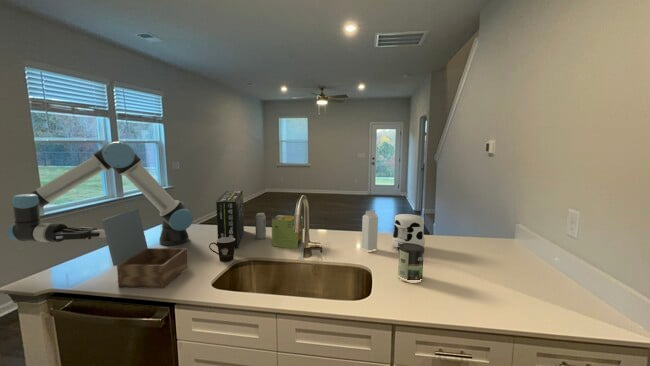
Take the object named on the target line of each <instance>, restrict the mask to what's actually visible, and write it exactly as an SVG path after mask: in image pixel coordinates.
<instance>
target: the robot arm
mask: <svg viewBox="0 0 650 366" xmlns="http://www.w3.org/2000/svg"><path fill="white" fill-rule="evenodd" d="M110 169H113V170H114V171H115V172H116V173H117V174H118V175H120V176H125V177H126V179H128V180H129V182H130V183H132V185H133V186H134V187H136V188H137V190H139V192H141V193H142V194H143V195H144V196H145V198H146V199H147V200H148V201H150V203H152V204H153V206H154V207H156V209H157V210H158V211H159V216H160V218H161V228H162V229H161V232H160V236H159V244H160V245H162V246H176V245H181V244H184V243H186V242H188V241H189V240H190V238H189V237H190V235H189V233H188V231H187V229H189V228H190V226H191V225H192V224H193V221H194V215H193V213H192V212H191V211H190V210H189V209H187V207H185V203H184V201H181V200H177V199H176V200H175V199H174V198H173V197H172V196H171V195H170V194H169V193H168V192H167V191H166V189H164V187H163V186H162V185H160V183H159V182H158V181H157V180H156V179H155V178H154V177H153V176H152V174H150V172H149V171H148V170H147V169H146V168H145V167H144V166H143V165H142V159H141V158H140V156H138V154H136V152H134V150H133V147H132V146H130V144H128V143H126V142H124V141H123V142H122V141H118V140H117V141H111V142H107V143H106V144H105V145H103V147H101V148H100V149H99V150H98V151H96V152H94V153H92V155H91V158H89V159H86V160H85V161H83V162H82V163H80V164H78V165H76V166H74V167H73V168H71V169H69V170H68V171H66V172H64V173H63V174H62V173H61V174H60V175H59V176H57V177H56V178H54V179H52V180H50V181H49V182H47V183H46V184H44V185H42V186H40V187H38V188H36V189H35V190H33V191H32V192H30V193H24V194H23V193H22V194H15V195H13V197H12V208H13V216H14V223H12V224H10V226H9V227H8V230H7V236H8V238H9V239H10V240H12V241H14V242H15V241H16V242H24V243H25V242H44V243H45V244H46V243H50V242H51V243H60V242H63V241H65V240H86V239H88V240H92V238H106V235H105V231H104V229H98V228H96V227H87V226H81V225H80V226H79V227H73V226H70V227H68V226H67V225H66V224H64V223H54V222H53V223H51V222H50V223H48V222H47V223H46V222H45V223H43V222H41V217H40V216H41V215H40V209H42V208H44V207H45V206H47V205H48V204H49V203H51V202H53V201H55V200H56V199H58V198H59V197H61V196H63V195H65V194H67V193H68V192H69V191H71V190H73V189H74V188H77V187H78V186H80V185H81V184H83V183H85V182H86V181H88V180H89V179H91V178H93V177H94V176H96V175H98V174H100V173H101V172H103V171H109V170H110Z"/></svg>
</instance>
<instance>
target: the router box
mask: <svg viewBox="0 0 650 366" xmlns="http://www.w3.org/2000/svg"><path fill="white" fill-rule="evenodd" d="M243 192H244V191H243V190H226V191H225V192H224V193H222V195H221V196H220V197H218V198H217V200H216V201H215V205H216V225H217V226H216V227H217V229H216V230H217V240H218V239H220V238H224V237H232V238H235V247H234V250H235V249H240V248H239V247H240V244H241V240H242V238H243V234H244V231H245V226H244V224H245V223H244V222H245V221H244V220H245V219H244V197H243V196H244V194H243Z"/></svg>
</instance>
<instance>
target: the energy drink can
mask: <svg viewBox="0 0 650 366" xmlns="http://www.w3.org/2000/svg"><path fill="white" fill-rule="evenodd" d="M254 218H255V239H257V240H265V238H266V237H267V230H266V228H267V226H266V224H267V223H266V222H267V219H266V215H265V212H258V213H256V215H255V217H254Z"/></svg>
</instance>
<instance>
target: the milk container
mask: <svg viewBox="0 0 650 366" xmlns="http://www.w3.org/2000/svg"><path fill="white" fill-rule="evenodd" d="M393 226H394V227H393V229H394V230H393V233H392V238H391V240H392V241H391V243H392V246H393V247H394V248H395V249H396V248H398V249H397V250H399V245H400V244H403V243H413V244H418V245H421V246H423V247H424V248H425V243H426V242H425V235H424V231H425V230H424V228H425V218H424V216H422V215H418V214H411V213H401V214H399V213H398V214H396V215H395V216H394V225H393Z"/></svg>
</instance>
